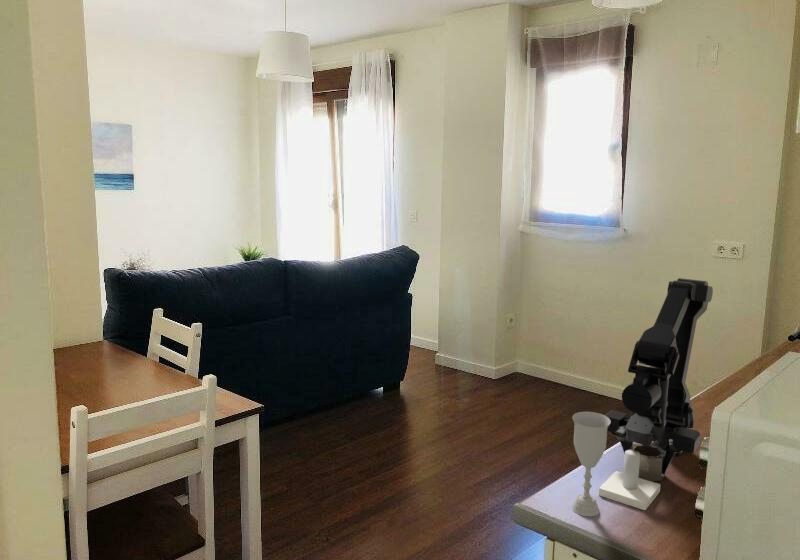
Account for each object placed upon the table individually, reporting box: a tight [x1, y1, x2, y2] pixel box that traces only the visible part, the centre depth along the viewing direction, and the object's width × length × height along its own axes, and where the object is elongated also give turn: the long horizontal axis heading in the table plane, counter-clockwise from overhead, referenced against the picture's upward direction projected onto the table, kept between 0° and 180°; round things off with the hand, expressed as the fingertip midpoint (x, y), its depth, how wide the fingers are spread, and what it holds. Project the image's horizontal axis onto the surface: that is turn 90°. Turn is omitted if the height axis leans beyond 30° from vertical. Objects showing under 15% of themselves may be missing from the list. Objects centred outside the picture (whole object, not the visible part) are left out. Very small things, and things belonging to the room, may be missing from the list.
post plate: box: [598, 450, 662, 511], centre depth 127 cm, size 9×9×8 cm
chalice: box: [571, 411, 611, 517], centre depth 120 cm, size 7×7×18 cm
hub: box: [629, 443, 666, 482], centre depth 135 cm, size 7×7×5 cm
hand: (646, 468), depth 135 cm, fingers closed on hub, 7 cm apart
